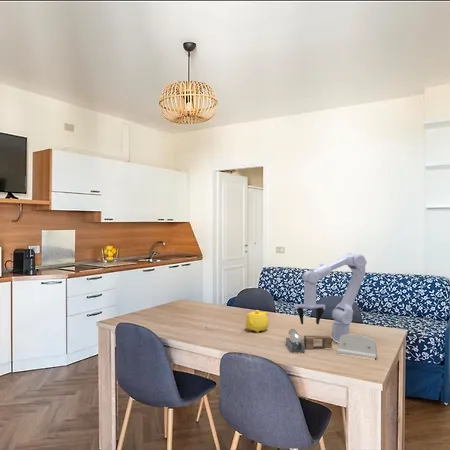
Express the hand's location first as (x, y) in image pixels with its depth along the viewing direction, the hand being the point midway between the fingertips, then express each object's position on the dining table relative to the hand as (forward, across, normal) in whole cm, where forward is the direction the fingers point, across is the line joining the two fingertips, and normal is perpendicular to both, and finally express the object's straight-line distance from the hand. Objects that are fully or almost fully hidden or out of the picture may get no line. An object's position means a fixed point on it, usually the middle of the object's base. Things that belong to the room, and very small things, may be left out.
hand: (309, 323), depth 186 cm
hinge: (+10, +17, -17) cm, 26 cm away
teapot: (+10, -23, +22) cm, 33 cm away
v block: (+9, -9, -8) cm, 15 cm away
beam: (+9, +2, -7) cm, 12 cm away
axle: (+6, -9, -8) cm, 13 cm away
